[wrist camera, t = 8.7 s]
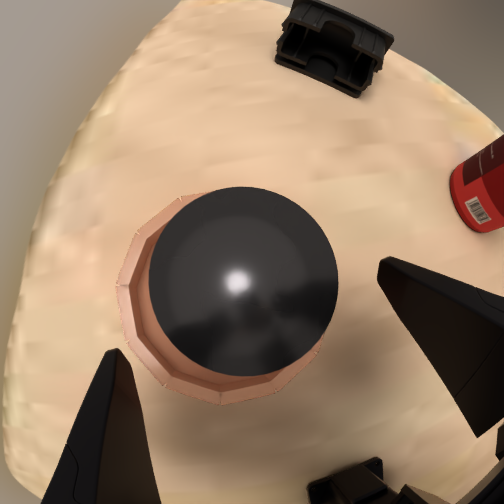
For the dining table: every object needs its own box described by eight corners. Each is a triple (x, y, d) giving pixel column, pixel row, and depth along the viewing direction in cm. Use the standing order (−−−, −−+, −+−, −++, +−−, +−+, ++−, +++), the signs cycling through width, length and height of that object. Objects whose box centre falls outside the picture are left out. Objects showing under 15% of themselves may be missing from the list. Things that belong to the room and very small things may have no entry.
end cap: (370, 67, 26) (395, 27, 20) (362, 102, 25) (393, 58, 18) (289, 31, 26) (303, -14, 19) (268, 61, 24) (282, 8, 18)
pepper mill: (273, 330, 18) (354, 348, 8) (193, 346, 18) (170, 392, 7) (256, 251, 19) (313, 177, 9) (177, 265, 18) (137, 203, 8)
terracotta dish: (331, 365, 19) (346, 371, 17) (151, 404, 17) (144, 416, 14) (293, 194, 21) (303, 179, 19) (119, 222, 19) (108, 210, 17)
